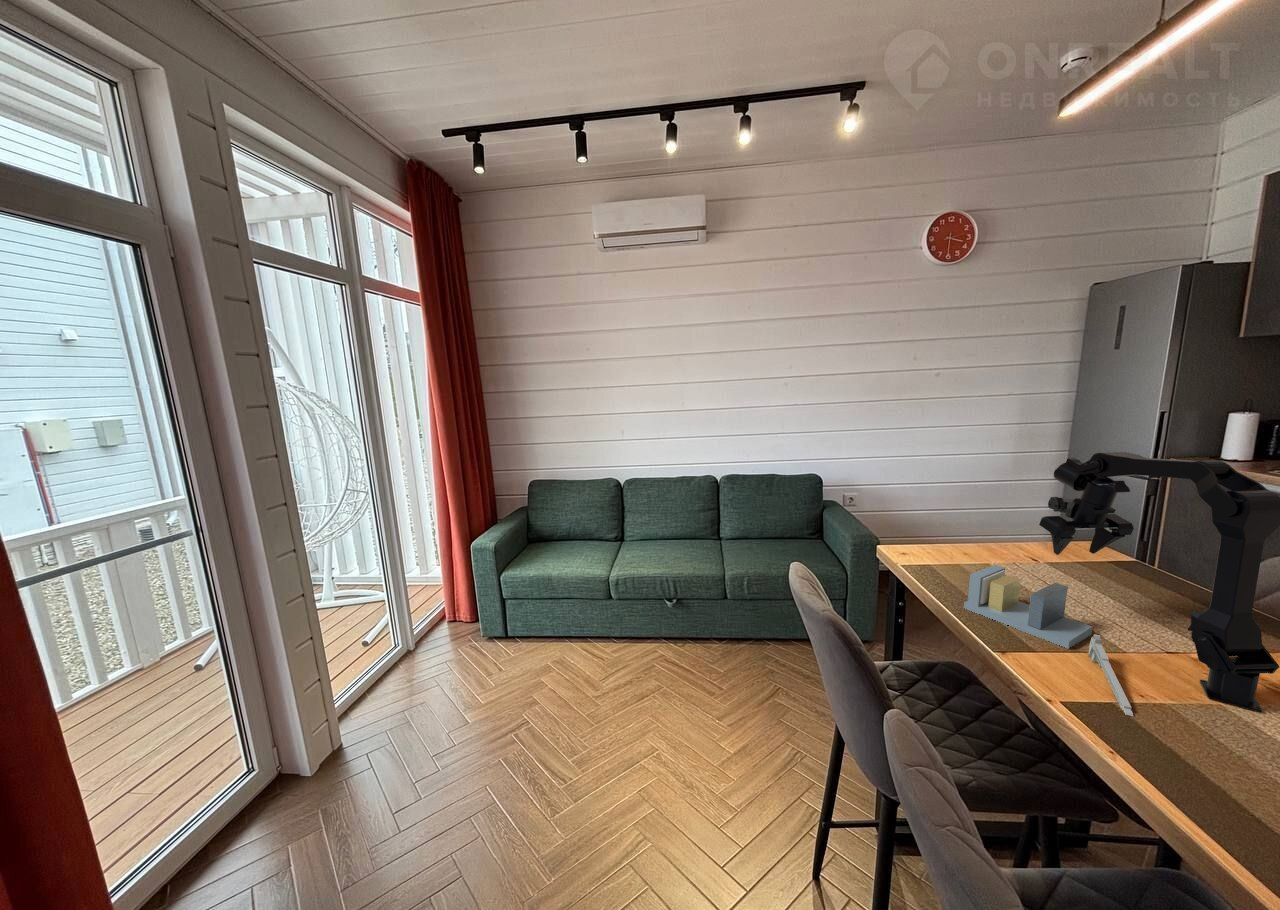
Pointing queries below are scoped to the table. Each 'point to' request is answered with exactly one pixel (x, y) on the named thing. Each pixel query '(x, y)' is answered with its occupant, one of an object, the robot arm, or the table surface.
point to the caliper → (1108, 672)
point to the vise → (1020, 612)
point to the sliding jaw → (1047, 605)
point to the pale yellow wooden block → (1004, 593)
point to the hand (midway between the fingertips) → (1073, 553)
